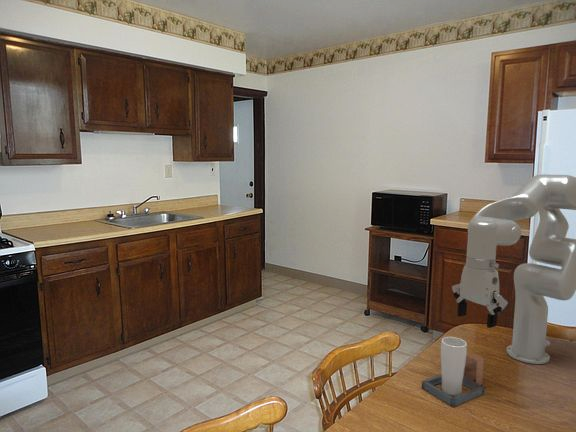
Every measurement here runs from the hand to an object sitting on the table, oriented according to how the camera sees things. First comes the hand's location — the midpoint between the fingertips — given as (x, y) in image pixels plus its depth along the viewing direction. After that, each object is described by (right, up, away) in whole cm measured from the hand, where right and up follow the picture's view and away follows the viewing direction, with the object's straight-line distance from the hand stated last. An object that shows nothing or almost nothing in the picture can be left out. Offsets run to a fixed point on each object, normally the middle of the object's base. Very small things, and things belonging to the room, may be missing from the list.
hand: (476, 321), depth 120 cm
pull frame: (-6, -19, -1) cm, 20 cm away
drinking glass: (-8, -20, -2) cm, 22 cm away
